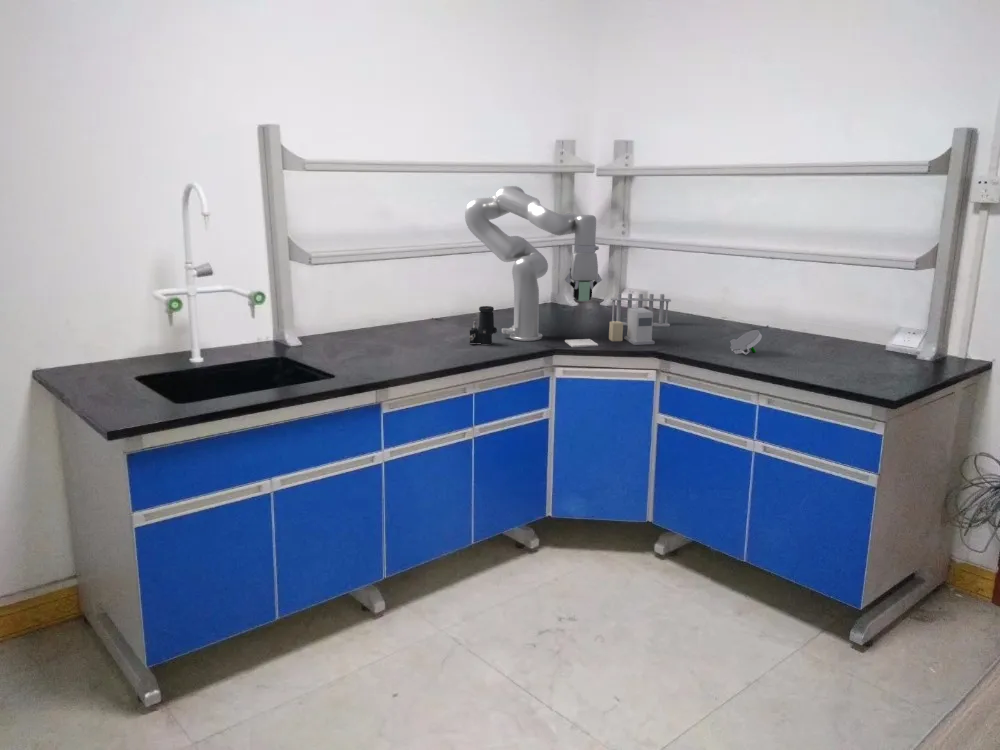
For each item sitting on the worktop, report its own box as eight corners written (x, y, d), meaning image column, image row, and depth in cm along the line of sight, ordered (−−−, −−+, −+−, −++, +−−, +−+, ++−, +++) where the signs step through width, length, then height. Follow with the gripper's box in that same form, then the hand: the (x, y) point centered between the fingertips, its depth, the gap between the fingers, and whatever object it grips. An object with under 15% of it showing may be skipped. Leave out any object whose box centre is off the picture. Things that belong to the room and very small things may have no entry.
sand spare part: (612, 341, 295) (613, 323, 293) (608, 339, 298) (609, 321, 297) (622, 340, 295) (623, 323, 293) (618, 338, 299) (619, 321, 297)
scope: (472, 304, 291) (498, 305, 289) (472, 340, 295) (498, 341, 293) (468, 308, 283) (494, 309, 282) (468, 345, 287) (494, 346, 285)
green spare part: (578, 301, 284) (579, 282, 282) (575, 299, 288) (576, 280, 286) (589, 300, 285) (589, 281, 283) (585, 299, 288) (586, 280, 287)
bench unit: (634, 344, 289) (635, 313, 285) (624, 338, 299) (625, 308, 296) (654, 344, 290) (656, 312, 287) (643, 337, 300) (645, 307, 297)
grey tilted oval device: (723, 346, 284) (742, 320, 282) (741, 357, 285) (759, 331, 283) (736, 355, 269) (756, 328, 267) (755, 367, 271) (774, 340, 268)
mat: (572, 347, 284) (572, 345, 284) (564, 341, 294) (564, 339, 294) (598, 346, 286) (598, 344, 286) (589, 340, 296) (589, 338, 296)
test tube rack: (609, 325, 326) (610, 294, 323) (609, 323, 330) (610, 292, 327) (669, 326, 323) (671, 295, 320) (668, 324, 327) (670, 293, 324)
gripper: (603, 248, 286) (600, 297, 291) (559, 248, 283) (557, 298, 288) (609, 250, 279) (607, 300, 284) (565, 250, 276) (563, 301, 281)
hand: (582, 298), depth 286 cm, fingers closed on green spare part, 4 cm apart
